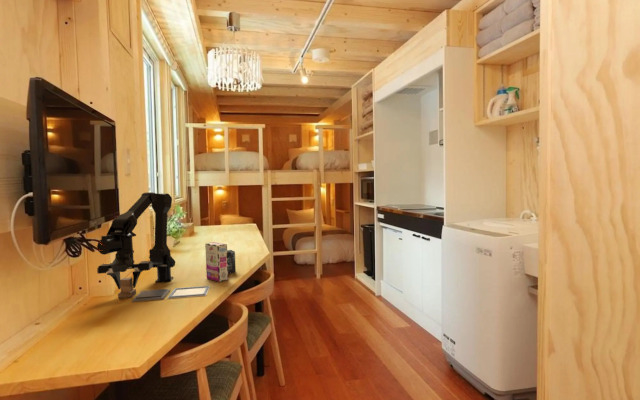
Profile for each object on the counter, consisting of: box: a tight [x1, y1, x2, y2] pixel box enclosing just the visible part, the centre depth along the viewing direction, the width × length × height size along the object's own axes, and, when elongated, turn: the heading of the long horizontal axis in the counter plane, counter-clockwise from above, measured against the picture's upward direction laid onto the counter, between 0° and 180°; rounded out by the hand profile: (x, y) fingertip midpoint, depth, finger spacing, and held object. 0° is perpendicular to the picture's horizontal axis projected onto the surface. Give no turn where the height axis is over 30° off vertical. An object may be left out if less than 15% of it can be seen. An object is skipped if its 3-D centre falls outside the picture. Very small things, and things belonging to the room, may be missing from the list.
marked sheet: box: [166, 285, 211, 300], centre depth 147 cm, size 12×14×1 cm
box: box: [227, 249, 237, 275], centre depth 177 cm, size 8×6×11 cm
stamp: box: [117, 276, 137, 299], centre depth 144 cm, size 5×5×7 cm
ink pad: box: [131, 288, 171, 303], centre depth 143 cm, size 11×11×1 cm
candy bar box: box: [205, 241, 229, 283], centre depth 165 cm, size 11×5×16 cm, turn 47°
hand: (126, 288), depth 144 cm, fingers open, 5 cm apart
